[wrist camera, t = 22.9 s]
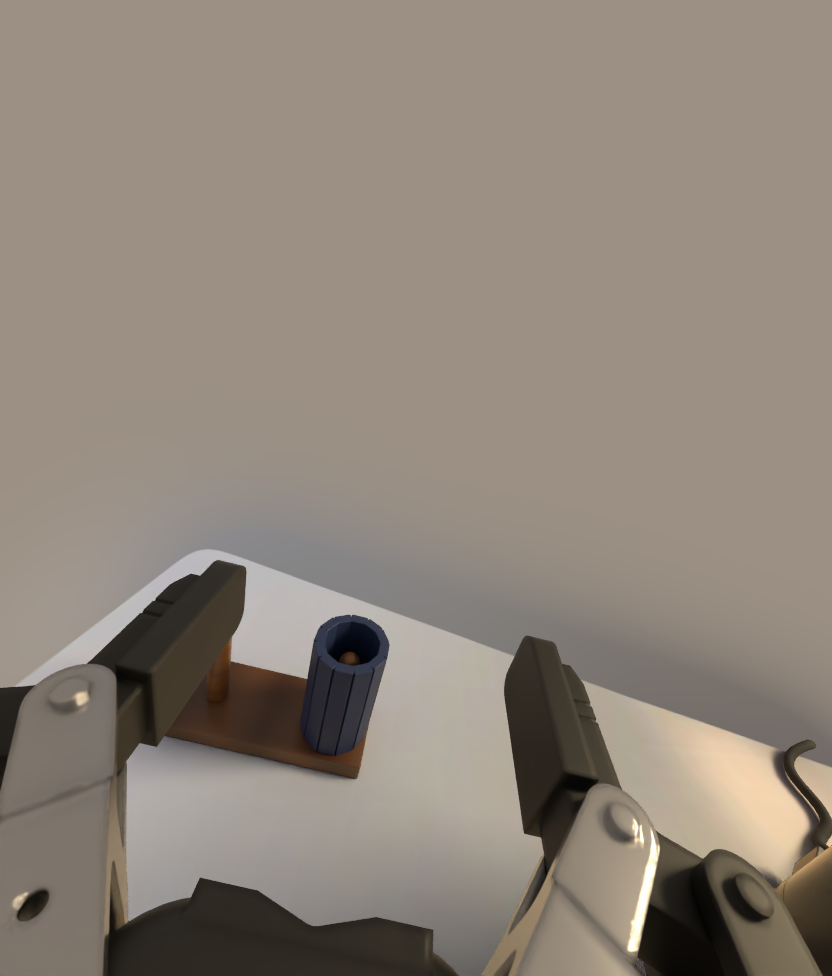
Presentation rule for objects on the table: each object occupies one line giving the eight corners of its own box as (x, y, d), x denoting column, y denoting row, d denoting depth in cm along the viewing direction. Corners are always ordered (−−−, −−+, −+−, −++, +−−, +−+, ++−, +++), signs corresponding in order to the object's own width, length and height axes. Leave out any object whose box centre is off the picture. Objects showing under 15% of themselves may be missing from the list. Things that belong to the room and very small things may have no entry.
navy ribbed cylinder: (372, 699, 39) (393, 623, 35) (359, 762, 33) (383, 681, 29) (313, 685, 38) (327, 608, 34) (290, 746, 33) (304, 663, 29)
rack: (371, 704, 40) (391, 632, 36) (356, 779, 33) (379, 702, 29) (207, 666, 39) (208, 589, 35) (160, 734, 33) (155, 649, 29)
